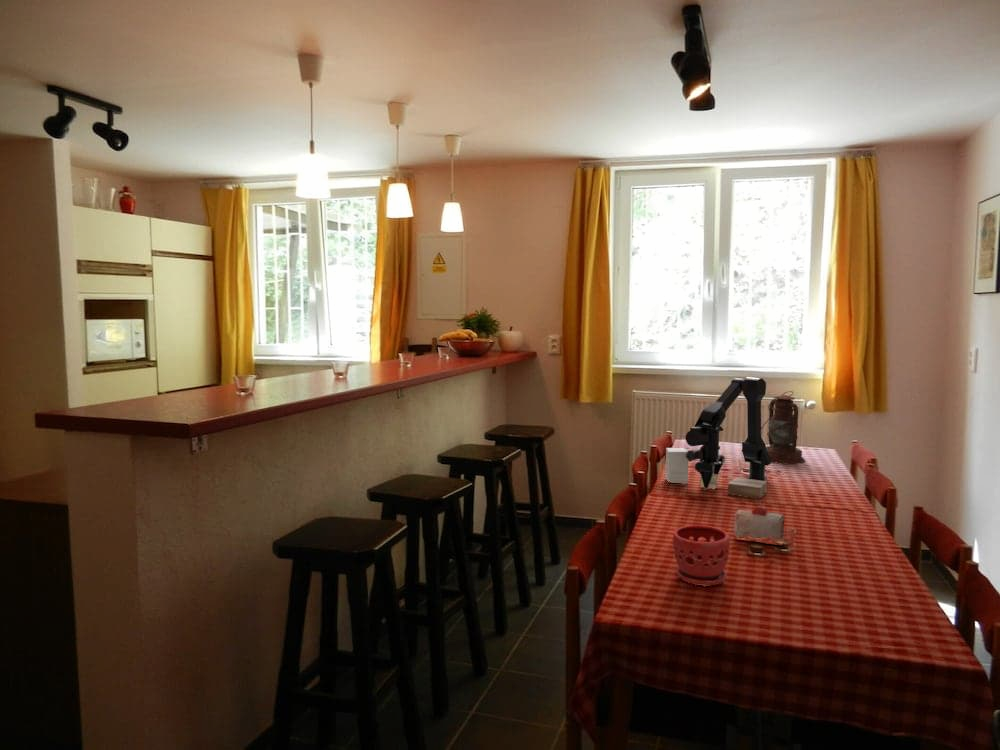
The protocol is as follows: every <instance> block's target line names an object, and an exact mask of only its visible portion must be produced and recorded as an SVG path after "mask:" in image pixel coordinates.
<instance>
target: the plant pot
mask: <svg viewBox="0 0 1000 750" xmlns="http://www.w3.org/2000/svg"><path fill="white" fill-rule="evenodd" d="M672 535H673V536H672V540H673V541H672V545H673V552H674V557H675V561H676V564H677V567H678V568H676V574H677V576H678V577H679V578H680V577H681V578H682V579H684V580H686V581H689V582H693V583H697V584H705V585H706V584H707V585H709V584H710V585H712V584H718V583H720V584H722V583H723V582H724V581H725V580H726V578H727V573H726V571H725V569H726V567H727V565H728V564H727V563H728V560H729V555H730V535H729V533H728V532H727V531H725V530H724V529H721V528H719V527H715V526H711V525H704V524H703V525H699V524H693V525H685V526H684V525H683V526H681V527H677V528H676V529H674V531H673V534H672ZM691 537H693V539H692V540H691V539H690V538H691ZM702 537H703V538H704V539H705V541H699V539H700V538H702ZM711 537H712V538H713V541H711ZM681 578H680V579H681ZM682 579H681V580H682ZM721 582H722V583H721ZM718 585H719V584H718Z"/></svg>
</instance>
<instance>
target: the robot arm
mask: <svg viewBox="0 0 1000 750" xmlns="http://www.w3.org/2000/svg"><path fill="white" fill-rule="evenodd" d="M766 392H767V382H766V381H765V380H764V378H761V377H760V378H758V377H749V376H746V377H745V378H738V377H736V378H733V379H732V380H731V382H730V384H729V385H728V386H727V387H726V388H725V390H724V391H723V392H722V394H721V395H720V396H719V398H717V400H716V401H715V402H713V403H711V404H710V405H707V406H706V407H705V408H704V409H702V411H701V413H700V414H699V417H698V419H697V421H696V422H695V424H694V426H690V428H689V431H687V432H686V435H685V441H686V444H687V445H688V446H690V447H698V446H700V448H698V449H696V450H693V449H690V450H687V451H688V452H687V453H686V458H688V463H690V462H692V461H696V460H698V461H697V462H696V463H695V464H694V470H696V472H697V473H699V475H700V477H701V476H702V480H703V484H704V488H708V486H709V483H710V481H711V479H712V476H713V474H718V475H719V473H720V471H721V470H722V468H723V466H724V464H725V463H726V462H725V459H726V458H725V456H724V455H723V454H719V453H720V451H719V450H721V445H720V432H723V431H724V428H723V427H722V426H721V425H722V424H723V422H724V421H725V419H726V417H727V415H726V414H727V411H728V410H729V408H730V407H731V406H732V404H733V403H734V402H735V401H736V400H737V398H738V397H739V396H740V395H741V393H742V395H743V396H744V398H745V400H746V405H747V409H746V410H747V411H746V415H747V421H746V422H747V423H746V425H747V438H746V439H745V441H742V442H741V447H742V448H741V453H742V456H743V460H744V462H745V463H749V472H748V473H749V474H748V475H747V476H746V479H747V478H748V479H754V480H761V481H764V480H765V481H766V480H767V478H768V476H766V466H770V465H771V460H772V459H771V458H770V456H769V455H768V453H767V452H766V446H767V445H766V443H765V441H764V440H763V438H762V430H761V428H762V401H763V399H764V397H765V395H766Z"/></svg>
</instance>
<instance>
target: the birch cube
mask: <svg viewBox="0 0 1000 750" xmlns="http://www.w3.org/2000/svg"><path fill="white" fill-rule="evenodd" d="M717 486H718V487H719V474H713V476H712V479H711V481H710V483H709V486H708V488H712V489H715V488H716V487H717ZM701 487H704V484H703V480H702V476H701V475H700V488H701Z"/></svg>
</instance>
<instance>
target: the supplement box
mask: <svg viewBox="0 0 1000 750" xmlns="http://www.w3.org/2000/svg"><path fill="white" fill-rule="evenodd" d="M688 451H689V450H687V449H686V447H683V448H682V447H665V480H666V479H667V481H668V482H672V483H688V479H689V476H688V474H689V473H688V472H689V461H688V458H686V453H687V452H688ZM667 481H666V482H667ZM668 482H667V483H668Z"/></svg>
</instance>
